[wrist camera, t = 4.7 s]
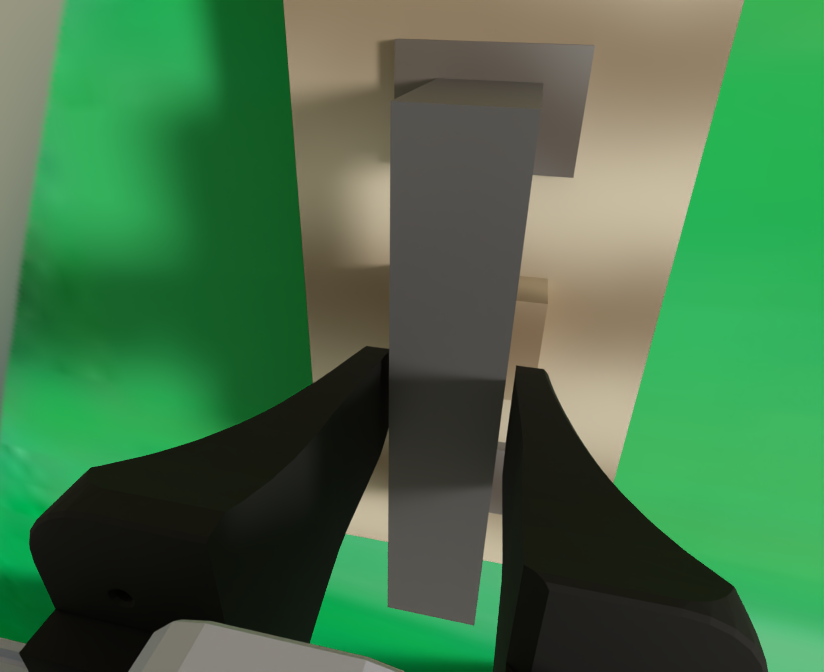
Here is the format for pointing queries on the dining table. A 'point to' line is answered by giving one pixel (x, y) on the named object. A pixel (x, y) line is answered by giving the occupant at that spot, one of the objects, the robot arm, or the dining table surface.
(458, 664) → the dining table surface
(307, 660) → the robot arm
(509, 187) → the grey long bar
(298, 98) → the display stand
